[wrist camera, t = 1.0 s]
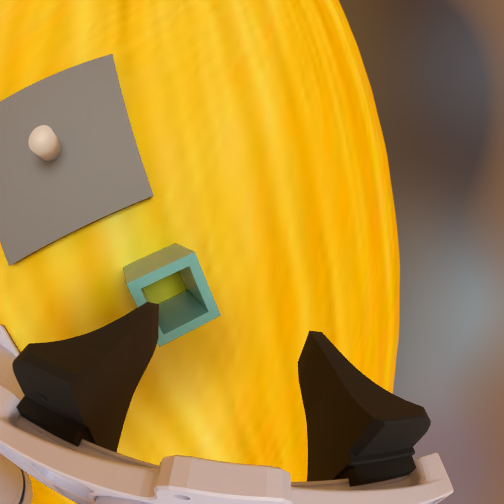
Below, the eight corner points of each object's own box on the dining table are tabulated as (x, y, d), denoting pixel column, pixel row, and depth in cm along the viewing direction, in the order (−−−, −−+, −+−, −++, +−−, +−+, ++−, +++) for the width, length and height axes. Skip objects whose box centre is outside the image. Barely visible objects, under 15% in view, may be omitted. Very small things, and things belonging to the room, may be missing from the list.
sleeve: (147, 317, 23) (159, 346, 18) (123, 266, 21) (126, 283, 16) (196, 293, 25) (220, 315, 20) (175, 243, 23) (194, 252, 18)
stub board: (13, 264, 16) (-7, 274, 12) (-21, 120, 12) (-40, 105, 8) (151, 196, 22) (160, 192, 18) (111, 59, 18) (114, 32, 14)
